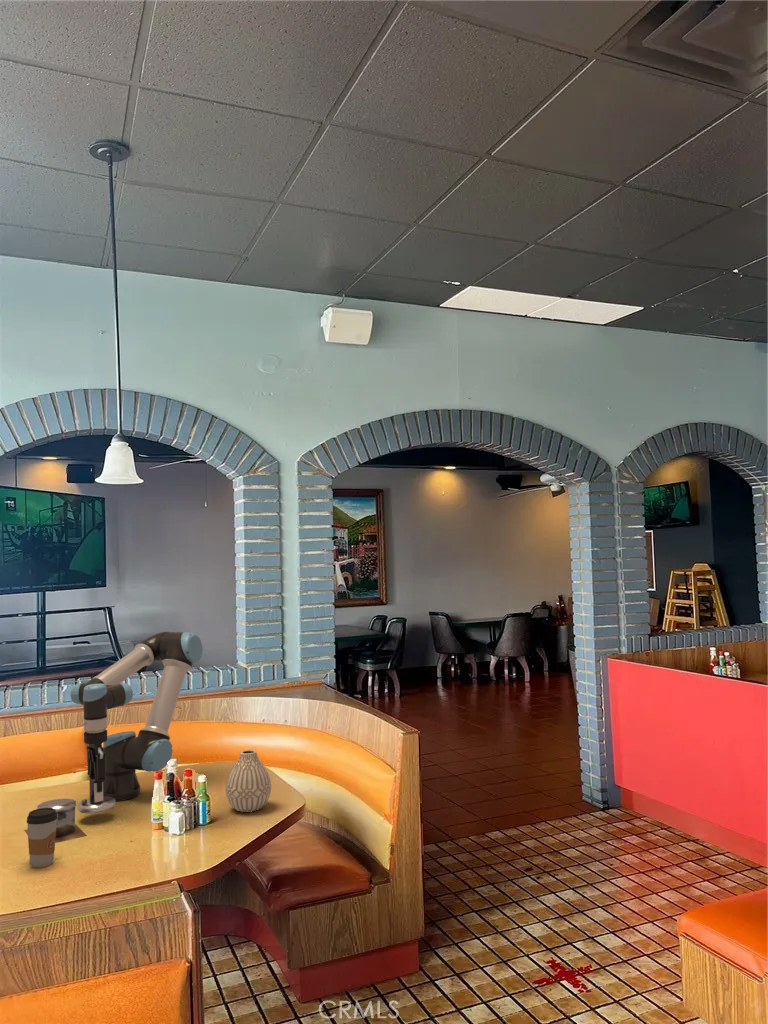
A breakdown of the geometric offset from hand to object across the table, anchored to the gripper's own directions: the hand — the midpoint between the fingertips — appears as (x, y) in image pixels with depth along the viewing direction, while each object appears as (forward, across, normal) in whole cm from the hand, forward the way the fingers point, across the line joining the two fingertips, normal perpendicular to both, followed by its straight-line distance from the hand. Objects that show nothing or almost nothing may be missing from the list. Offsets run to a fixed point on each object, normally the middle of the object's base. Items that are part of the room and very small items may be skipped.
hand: (96, 799), depth 263 cm
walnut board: (+7, +5, -15) cm, 17 cm away
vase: (+8, +21, +46) cm, 52 cm away
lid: (+3, 0, 0) cm, 3 cm away
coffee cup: (+7, +27, -24) cm, 37 cm away
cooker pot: (+6, +5, -14) cm, 16 cm away
